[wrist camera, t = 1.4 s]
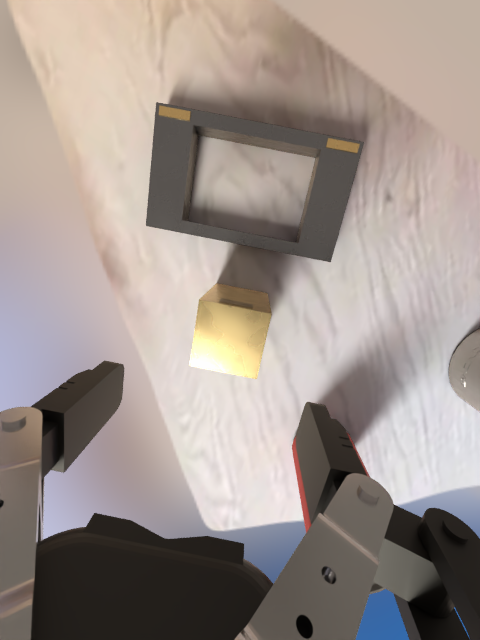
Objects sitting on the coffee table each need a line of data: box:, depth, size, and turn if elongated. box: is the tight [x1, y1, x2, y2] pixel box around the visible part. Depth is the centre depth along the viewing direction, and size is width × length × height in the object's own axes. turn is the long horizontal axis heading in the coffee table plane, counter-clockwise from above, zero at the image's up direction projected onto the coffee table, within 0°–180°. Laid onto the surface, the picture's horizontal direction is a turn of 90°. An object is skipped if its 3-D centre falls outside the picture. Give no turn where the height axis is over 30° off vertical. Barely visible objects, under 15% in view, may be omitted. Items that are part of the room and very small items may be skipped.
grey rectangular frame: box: [146, 102, 364, 262], centre depth 22 cm, size 16×9×2 cm, turn 79°
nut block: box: [189, 283, 271, 379], centre depth 23 cm, size 5×5×8 cm
